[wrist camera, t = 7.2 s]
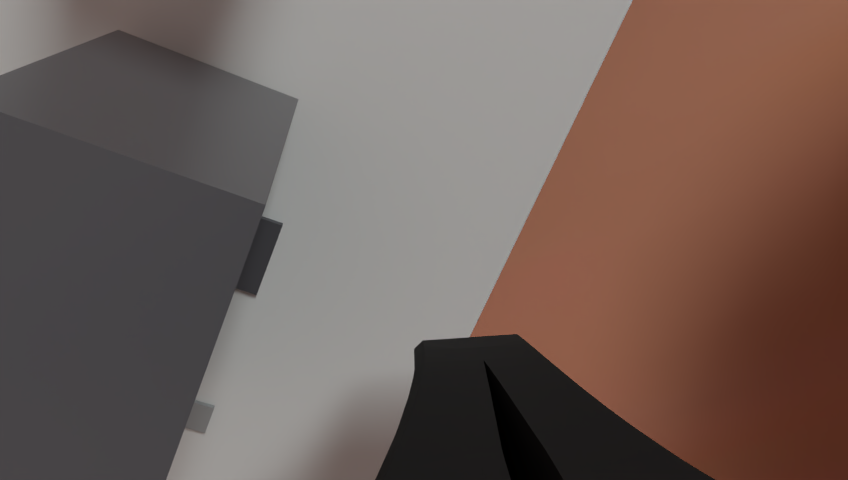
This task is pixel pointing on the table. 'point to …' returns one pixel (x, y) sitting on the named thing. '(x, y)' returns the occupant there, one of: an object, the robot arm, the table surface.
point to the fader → (121, 248)
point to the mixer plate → (357, 197)
